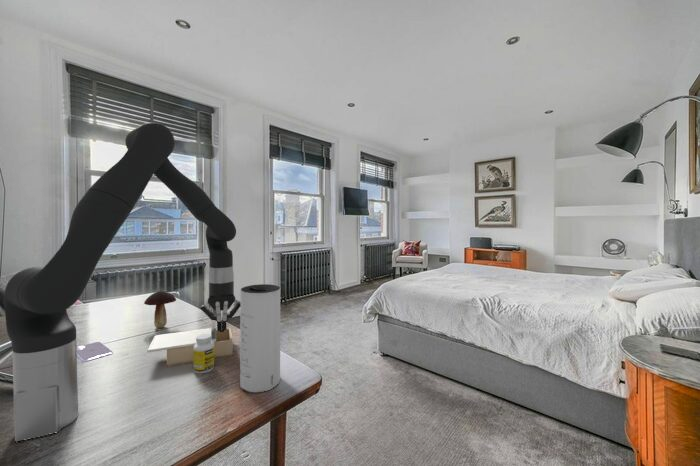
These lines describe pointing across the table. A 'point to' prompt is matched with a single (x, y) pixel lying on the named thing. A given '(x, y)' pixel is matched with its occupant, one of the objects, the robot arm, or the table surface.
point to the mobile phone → (93, 351)
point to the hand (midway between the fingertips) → (221, 331)
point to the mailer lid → (180, 339)
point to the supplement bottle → (203, 354)
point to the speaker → (259, 337)
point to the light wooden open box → (186, 353)
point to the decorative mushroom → (160, 306)
